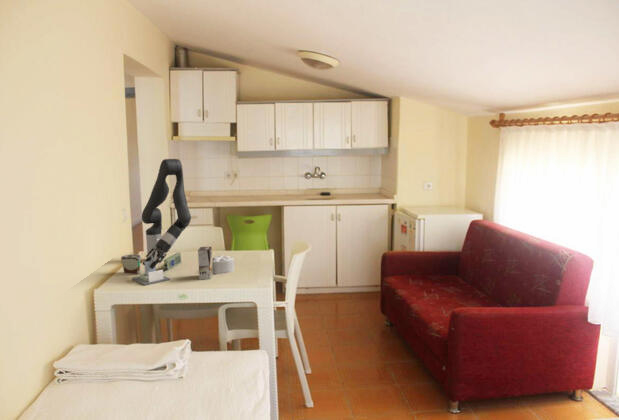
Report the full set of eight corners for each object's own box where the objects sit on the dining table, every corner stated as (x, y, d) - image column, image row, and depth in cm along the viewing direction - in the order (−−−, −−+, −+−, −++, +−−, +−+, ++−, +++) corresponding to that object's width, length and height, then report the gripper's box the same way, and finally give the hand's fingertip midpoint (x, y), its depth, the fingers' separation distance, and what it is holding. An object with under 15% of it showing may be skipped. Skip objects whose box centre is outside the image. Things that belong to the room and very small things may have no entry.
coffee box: (211, 279, 261) (209, 249, 259) (199, 279, 260) (197, 250, 258) (213, 274, 270) (211, 246, 268) (201, 275, 270) (199, 246, 267)
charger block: (145, 278, 262) (144, 261, 261) (152, 276, 264) (151, 260, 263) (149, 279, 258) (147, 263, 257) (156, 278, 261) (155, 261, 260)
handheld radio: (182, 262, 300) (165, 273, 276) (177, 263, 301) (159, 273, 276) (181, 252, 299) (163, 261, 275) (176, 252, 300) (158, 262, 275)
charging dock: (132, 279, 263) (131, 269, 262) (156, 274, 272) (155, 264, 271) (144, 285, 251) (143, 274, 250) (169, 280, 260) (169, 269, 260)
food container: (146, 271, 279) (145, 254, 278) (139, 274, 273) (138, 257, 272) (129, 270, 283) (128, 253, 282) (122, 273, 277) (120, 256, 276)
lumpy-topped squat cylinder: (210, 270, 279) (209, 255, 278) (232, 268, 284) (231, 253, 283) (213, 274, 270) (212, 259, 269) (236, 272, 274) (235, 257, 273)
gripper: (155, 236, 269) (136, 260, 263) (167, 240, 258) (148, 264, 252) (164, 244, 273) (146, 268, 267) (177, 248, 263) (158, 272, 257)
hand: (147, 266), depth 260 cm, fingers open, 8 cm apart
